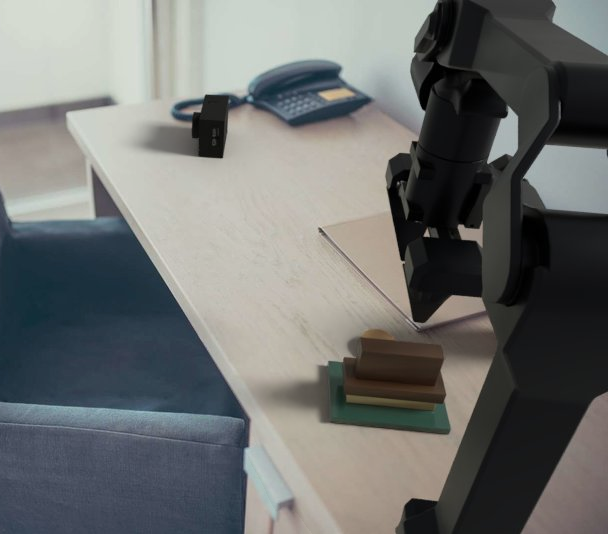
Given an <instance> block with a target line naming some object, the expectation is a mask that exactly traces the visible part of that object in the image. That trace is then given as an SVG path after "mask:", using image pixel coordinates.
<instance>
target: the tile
mask: <svg viewBox="0 0 608 534" xmlns="http://www.w3.org/2000/svg"><path fill="white" fill-rule="evenodd" d="M342 363H343V361H338V360H327V364H326V365H327V384H328V385H327V386H328V387H327V388H328V406H329V423H336V424H346V425H356V426H365V427H373V428H374V427H375V428H385V429H392V430H393V429H395V430H404V431H413V432H414V431H415V432H422V433H423V432H424V433H434V434H442V435H443V434H444V435H450V433H451V430H452V427H451V422H450V419H449V415H448V411H447V406H446V402H445V400H444V403H443V404H436V406H435V409H434V411H430V410H420V409H410V408H400V407H390V406H379V405H369V404H359V403H349V402H346V395H345V394H344V388H343V375H342Z"/></svg>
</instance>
